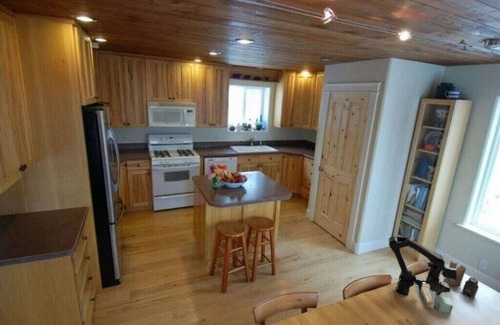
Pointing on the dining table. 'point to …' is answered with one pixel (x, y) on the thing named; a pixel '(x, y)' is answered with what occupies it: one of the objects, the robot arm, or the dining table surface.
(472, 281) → the supplement bottle
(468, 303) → the dining table surface
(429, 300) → the slat
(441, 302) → the end cap
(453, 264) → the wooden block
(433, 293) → the mat
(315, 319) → the dining table surface
